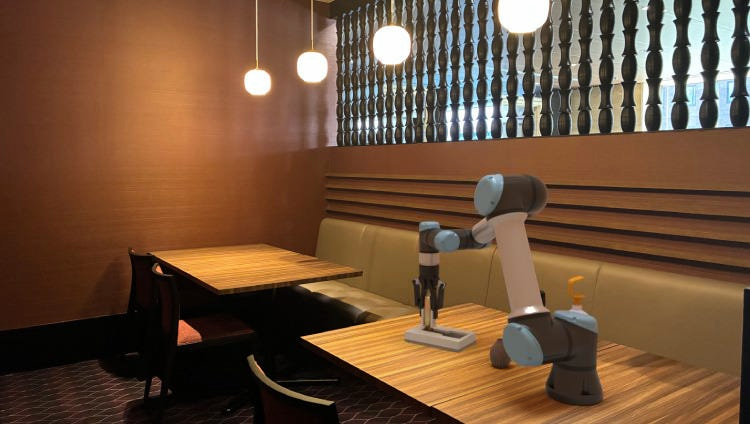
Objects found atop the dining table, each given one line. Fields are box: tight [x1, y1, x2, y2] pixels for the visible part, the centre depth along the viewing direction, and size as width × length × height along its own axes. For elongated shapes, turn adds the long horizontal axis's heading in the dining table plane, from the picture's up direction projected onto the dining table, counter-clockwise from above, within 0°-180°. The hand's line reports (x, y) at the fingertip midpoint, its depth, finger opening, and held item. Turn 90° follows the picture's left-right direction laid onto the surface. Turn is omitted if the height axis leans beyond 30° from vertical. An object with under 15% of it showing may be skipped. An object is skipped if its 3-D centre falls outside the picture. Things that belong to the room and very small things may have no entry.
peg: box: [424, 293, 436, 333], centre depth 208 cm, size 6×6×16 cm
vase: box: [489, 337, 512, 369], centre depth 181 cm, size 7×7×9 cm
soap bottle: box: [567, 275, 589, 315], centre depth 203 cm, size 9×9×25 cm
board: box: [404, 323, 477, 353], centre depth 206 cm, size 14×22×4 cm, turn 54°
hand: (428, 326), depth 209 cm, fingers closed on peg, 3 cm apart
